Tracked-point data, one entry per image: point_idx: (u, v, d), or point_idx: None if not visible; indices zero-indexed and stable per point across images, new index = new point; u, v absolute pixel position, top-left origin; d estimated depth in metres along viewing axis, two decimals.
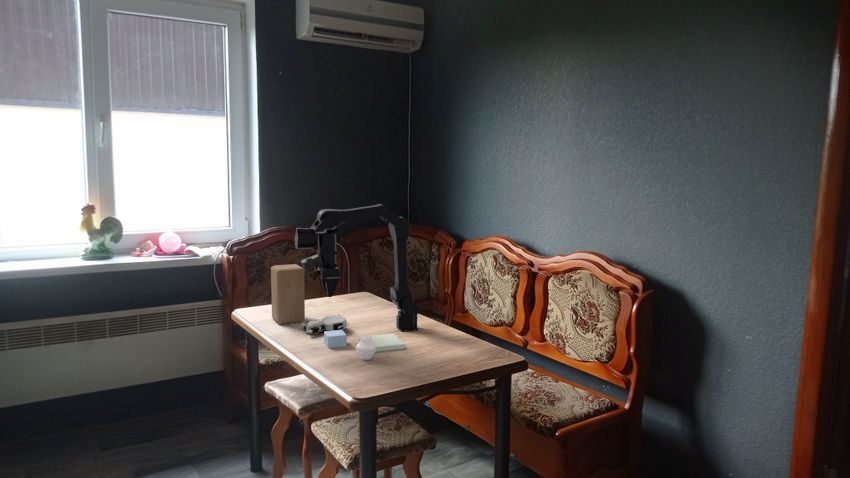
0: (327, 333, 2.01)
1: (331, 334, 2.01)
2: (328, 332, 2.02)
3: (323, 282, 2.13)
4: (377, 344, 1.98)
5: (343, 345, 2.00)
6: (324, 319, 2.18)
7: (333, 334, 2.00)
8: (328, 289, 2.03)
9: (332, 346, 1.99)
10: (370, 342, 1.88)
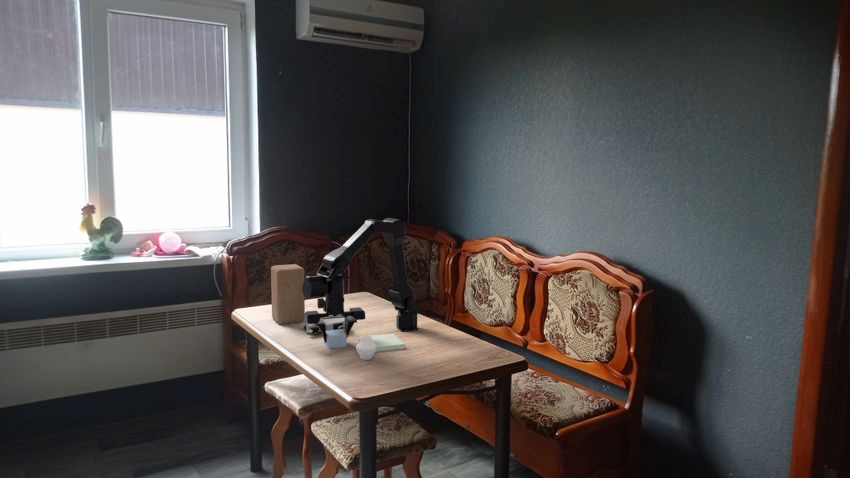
0: (327, 332, 2.01)
1: (331, 333, 2.01)
2: (328, 331, 2.02)
3: (344, 331, 2.03)
4: (377, 344, 1.98)
5: (343, 344, 2.00)
6: (324, 319, 2.18)
7: (333, 333, 2.00)
8: None
9: (332, 346, 1.99)
10: (370, 342, 1.88)
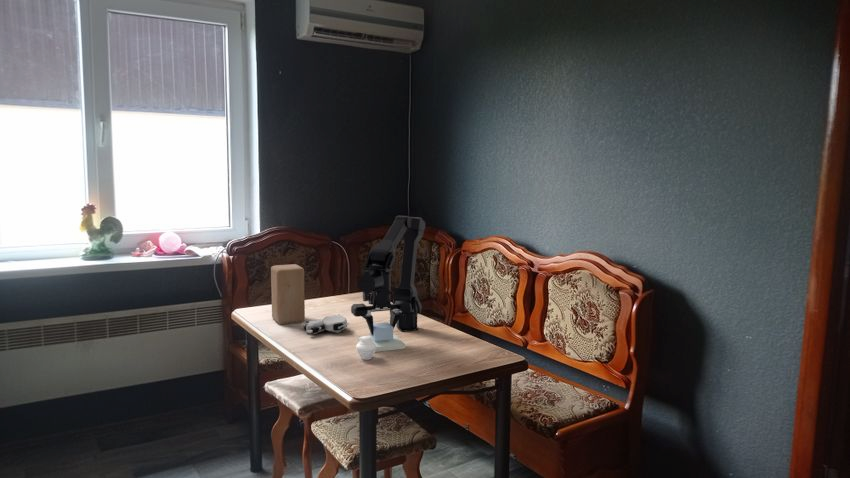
0: (373, 325, 2.01)
1: (378, 326, 2.00)
2: (374, 324, 2.02)
3: (390, 323, 2.03)
4: (377, 344, 1.98)
5: (390, 337, 2.00)
6: (324, 319, 2.18)
7: (380, 326, 2.00)
8: (368, 326, 2.01)
9: (379, 338, 1.99)
10: (370, 342, 1.88)
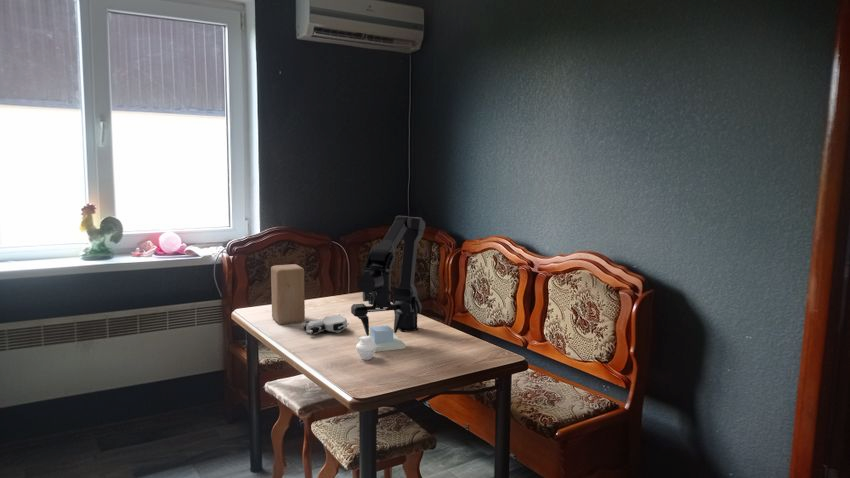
0: (374, 328, 2.01)
1: (378, 329, 2.01)
2: (374, 327, 2.02)
3: (394, 323, 2.04)
4: (377, 344, 1.98)
5: (390, 340, 2.00)
6: (324, 319, 2.18)
7: (380, 329, 2.00)
8: (364, 327, 2.00)
9: (379, 341, 1.99)
10: (370, 342, 1.88)
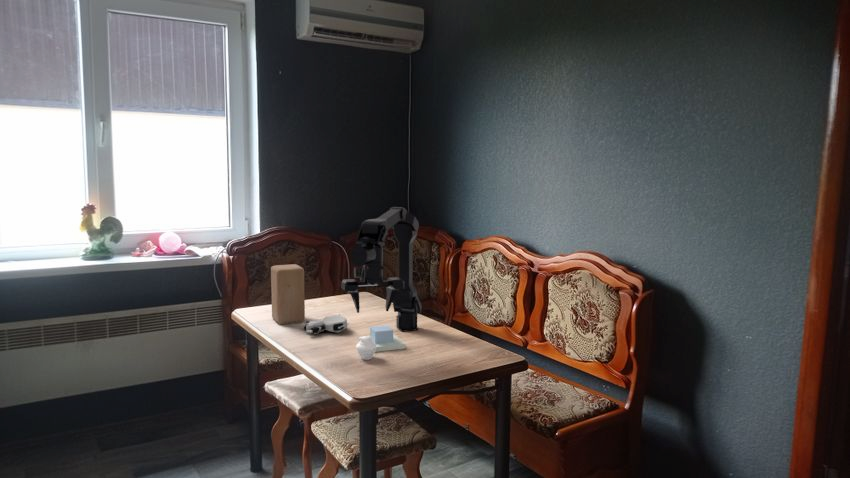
0: (374, 328, 2.01)
1: (378, 329, 2.01)
2: (374, 327, 2.02)
3: (386, 301, 1.95)
4: (377, 344, 1.98)
5: (390, 340, 2.00)
6: (324, 319, 2.18)
7: (380, 329, 2.00)
8: (354, 303, 1.92)
9: (379, 341, 1.99)
10: (370, 342, 1.88)
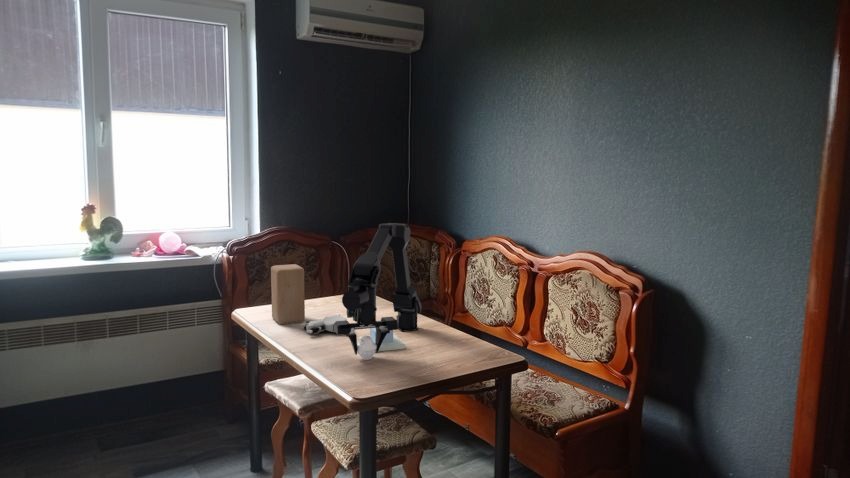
0: (374, 328, 2.01)
1: None
2: None
3: (376, 342, 1.91)
4: None
5: (390, 340, 2.00)
6: (324, 319, 2.18)
7: None
8: (352, 345, 1.88)
9: None
10: (370, 342, 1.88)
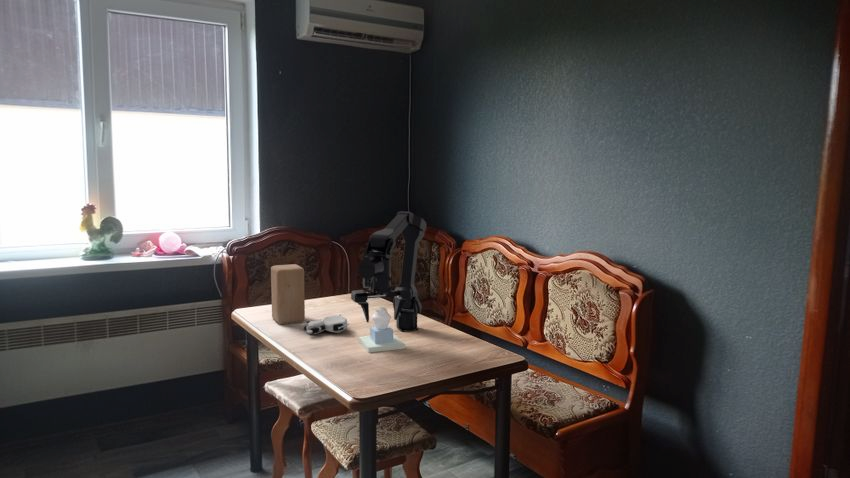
0: (374, 328, 2.01)
1: (378, 329, 2.01)
2: (374, 327, 2.02)
3: (394, 310, 2.03)
4: (377, 344, 1.98)
5: (390, 340, 2.00)
6: (325, 319, 2.17)
7: None
8: (364, 313, 2.00)
9: (379, 341, 1.99)
10: (385, 313, 2.00)
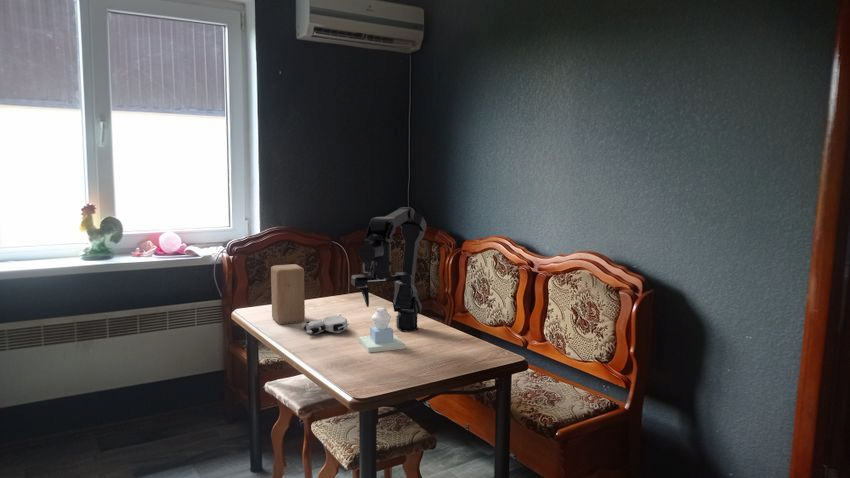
0: (374, 328, 2.01)
1: (378, 329, 2.01)
2: (374, 327, 2.02)
3: (394, 295, 2.02)
4: (377, 344, 1.98)
5: (390, 340, 2.00)
6: (325, 319, 2.17)
7: None
8: (364, 297, 1.99)
9: (379, 341, 1.99)
10: (385, 313, 2.00)
